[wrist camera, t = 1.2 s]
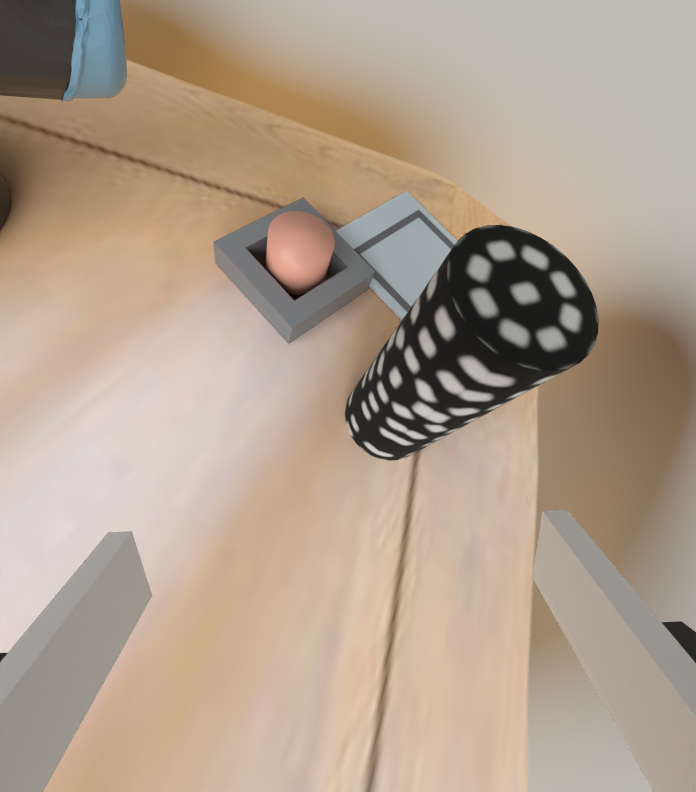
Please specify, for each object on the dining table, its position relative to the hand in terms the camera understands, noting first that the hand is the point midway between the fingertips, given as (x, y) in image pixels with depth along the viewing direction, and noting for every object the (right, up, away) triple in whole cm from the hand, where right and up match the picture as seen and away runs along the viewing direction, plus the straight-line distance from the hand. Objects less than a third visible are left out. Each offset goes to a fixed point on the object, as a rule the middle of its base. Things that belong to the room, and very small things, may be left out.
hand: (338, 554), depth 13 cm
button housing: (-5, +17, +27) cm, 33 cm away
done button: (-5, +18, +26) cm, 32 cm away
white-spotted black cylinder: (+4, +3, +25) cm, 25 cm away
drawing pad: (+9, +20, +32) cm, 39 cm away
